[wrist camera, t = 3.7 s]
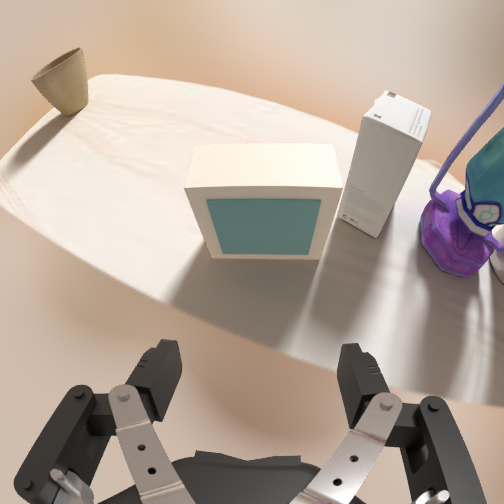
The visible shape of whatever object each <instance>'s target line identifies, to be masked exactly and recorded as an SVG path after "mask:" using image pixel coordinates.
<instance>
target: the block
mask: <svg viewBox="0 0 504 504" xmlns="http://www.w3.org/2000/svg"><path fill="white" fill-rule="evenodd" d="M184 189H185V192H186V195H187V197H188V200H189V202H190V205H191V208H192V210H193V213H194V215H195V218H196V220H197V223H198V225H199V228H200V231H201V233H202V235H203V238H204V240H205V243H206V245H207V248H208V250H209V253H210V255H211V258H216V259H303V260H320V258H321V255H322V252H323V249H324V246H325V243H326V240H327V237H328V234H329V231H330V228H331V225H332V222H333V219H334V215H335V212H336V209H337V206H338V203H339V199H340V196H341V193H342V189H343V186H342V181H341V176H340V172H339V167H338V163H337V159H336V154H335V150H334V146H333V145H324V144H301V143H238V144H215V145H199V146H195V148H194V152H193V155H192V159H191V163H190V166H189V170H188V174H187V178H186V182H185V186H184Z"/></svg>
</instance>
